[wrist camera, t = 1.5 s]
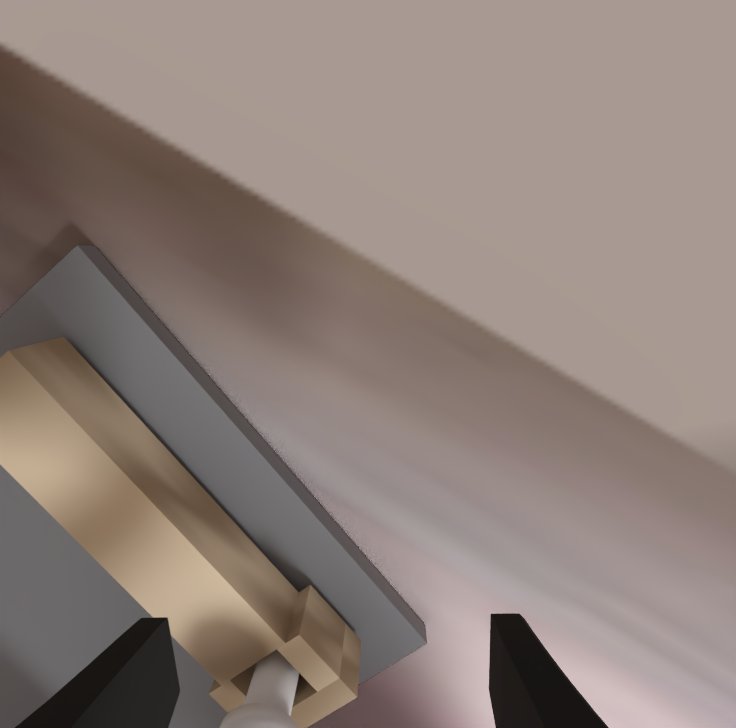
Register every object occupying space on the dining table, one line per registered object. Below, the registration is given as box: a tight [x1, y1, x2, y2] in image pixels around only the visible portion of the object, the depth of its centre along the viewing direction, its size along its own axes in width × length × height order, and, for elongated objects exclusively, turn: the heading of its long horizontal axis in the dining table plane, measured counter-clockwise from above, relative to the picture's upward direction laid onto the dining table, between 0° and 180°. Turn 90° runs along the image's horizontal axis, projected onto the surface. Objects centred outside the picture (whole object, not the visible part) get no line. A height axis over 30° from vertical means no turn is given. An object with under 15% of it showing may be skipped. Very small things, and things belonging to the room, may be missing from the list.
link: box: [0, 337, 361, 728], centre depth 17 cm, size 16×4×2 cm, turn 38°
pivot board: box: [0, 245, 427, 728], centre depth 18 cm, size 24×20×6 cm
